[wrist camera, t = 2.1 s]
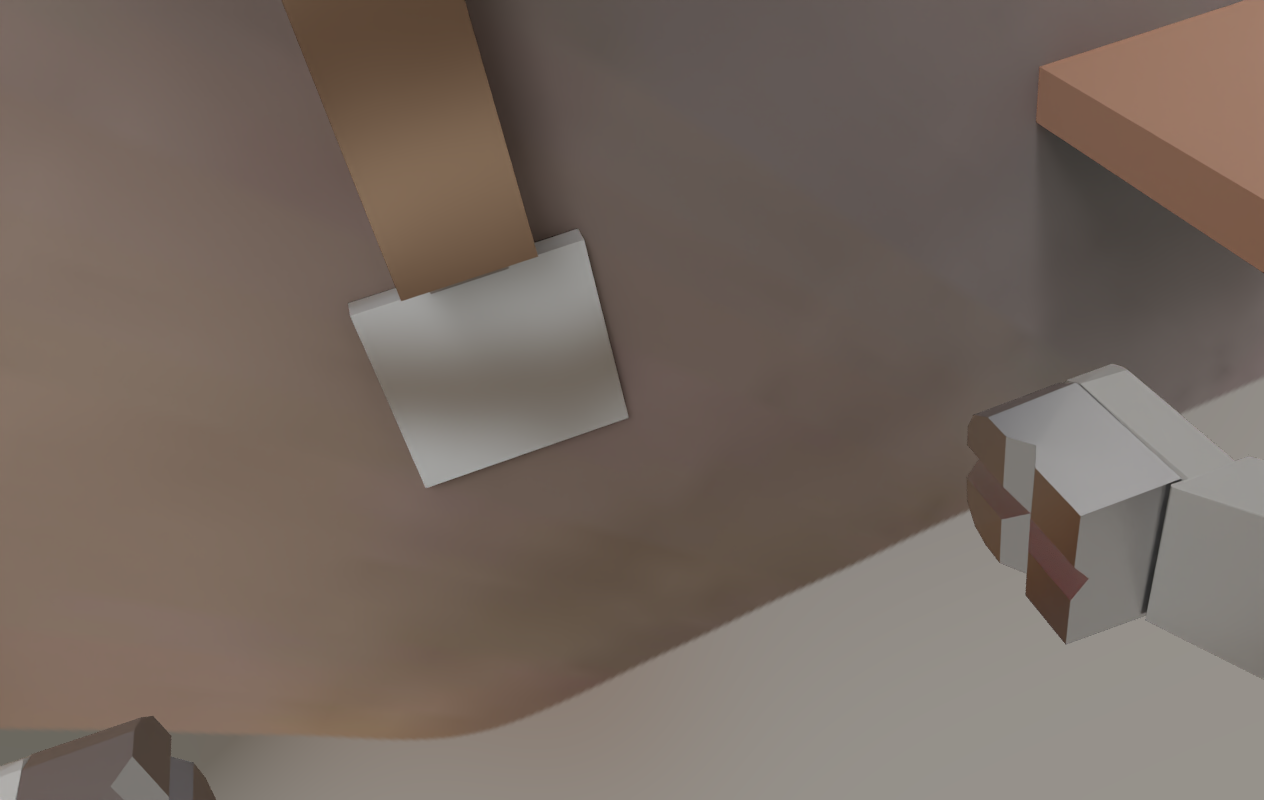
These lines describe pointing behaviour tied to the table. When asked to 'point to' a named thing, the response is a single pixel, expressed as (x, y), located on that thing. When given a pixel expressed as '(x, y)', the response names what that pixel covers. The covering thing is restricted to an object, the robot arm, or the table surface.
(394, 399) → the turner
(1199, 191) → the tile
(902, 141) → the table surface
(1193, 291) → the table surface
